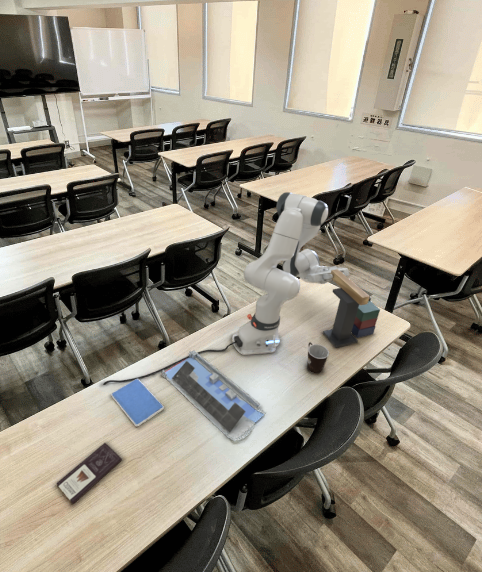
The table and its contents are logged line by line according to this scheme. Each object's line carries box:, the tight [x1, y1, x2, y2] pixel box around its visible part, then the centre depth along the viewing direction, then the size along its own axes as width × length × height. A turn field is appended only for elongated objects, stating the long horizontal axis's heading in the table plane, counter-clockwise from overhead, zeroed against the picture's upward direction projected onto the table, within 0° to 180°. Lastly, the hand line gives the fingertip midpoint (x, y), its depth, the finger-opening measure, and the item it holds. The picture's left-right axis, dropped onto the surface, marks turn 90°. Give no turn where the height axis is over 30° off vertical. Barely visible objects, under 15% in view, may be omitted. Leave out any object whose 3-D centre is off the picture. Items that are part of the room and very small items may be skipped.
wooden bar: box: [331, 269, 371, 305], centre depth 159 cm, size 4×23×4 cm, turn 19°
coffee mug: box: [306, 342, 330, 375], centre depth 154 cm, size 12×9×10 cm
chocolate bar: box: [56, 442, 123, 505], centre depth 115 cm, size 9×1×18 cm
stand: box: [322, 287, 372, 349], centre depth 165 cm, size 12×11×26 cm
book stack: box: [351, 300, 381, 339], centre depth 175 cm, size 10×15×15 cm, turn 19°
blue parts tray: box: [160, 350, 267, 442], centre depth 141 cm, size 18×45×6 cm, turn 44°
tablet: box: [110, 379, 165, 428], centre depth 138 cm, size 19×13×1 cm, turn 43°
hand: (337, 275), depth 165 cm, fingers closed on wooden bar, 3 cm apart
